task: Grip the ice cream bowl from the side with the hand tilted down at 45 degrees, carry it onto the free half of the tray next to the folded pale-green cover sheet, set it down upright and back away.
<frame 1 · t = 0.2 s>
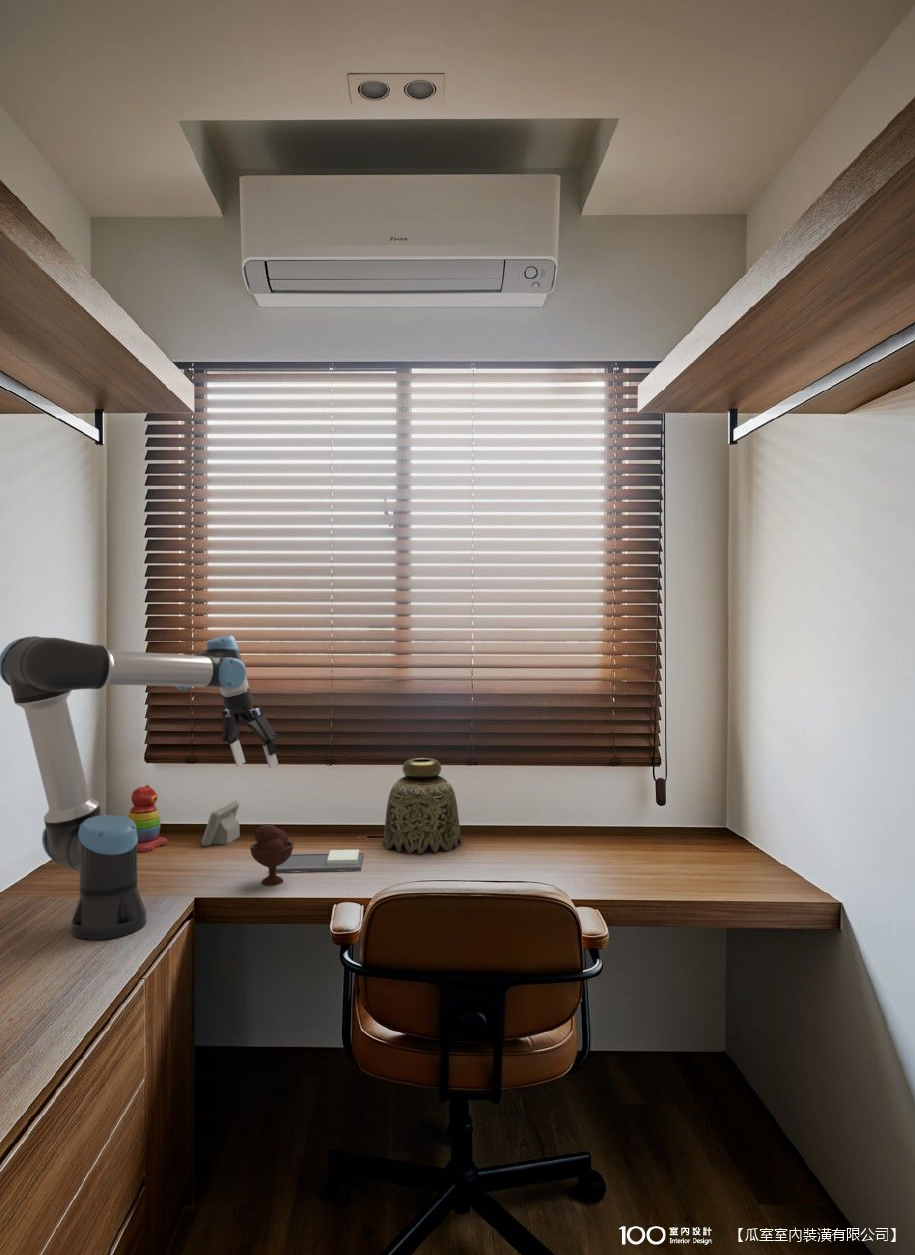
hand: (257, 765, 221), 27 cm above the table, tool tilted 15°, fingers open, 13 cm apart
lamp shade: (422, 844, 240), on the table
ice cream bowl: (272, 883, 206), on the table
tray: (317, 864, 220), on the table
digital clock: (220, 841, 244), on the table
stacking bear: (144, 847, 238), on the table
cover sheet: (343, 863, 221), resting on tray
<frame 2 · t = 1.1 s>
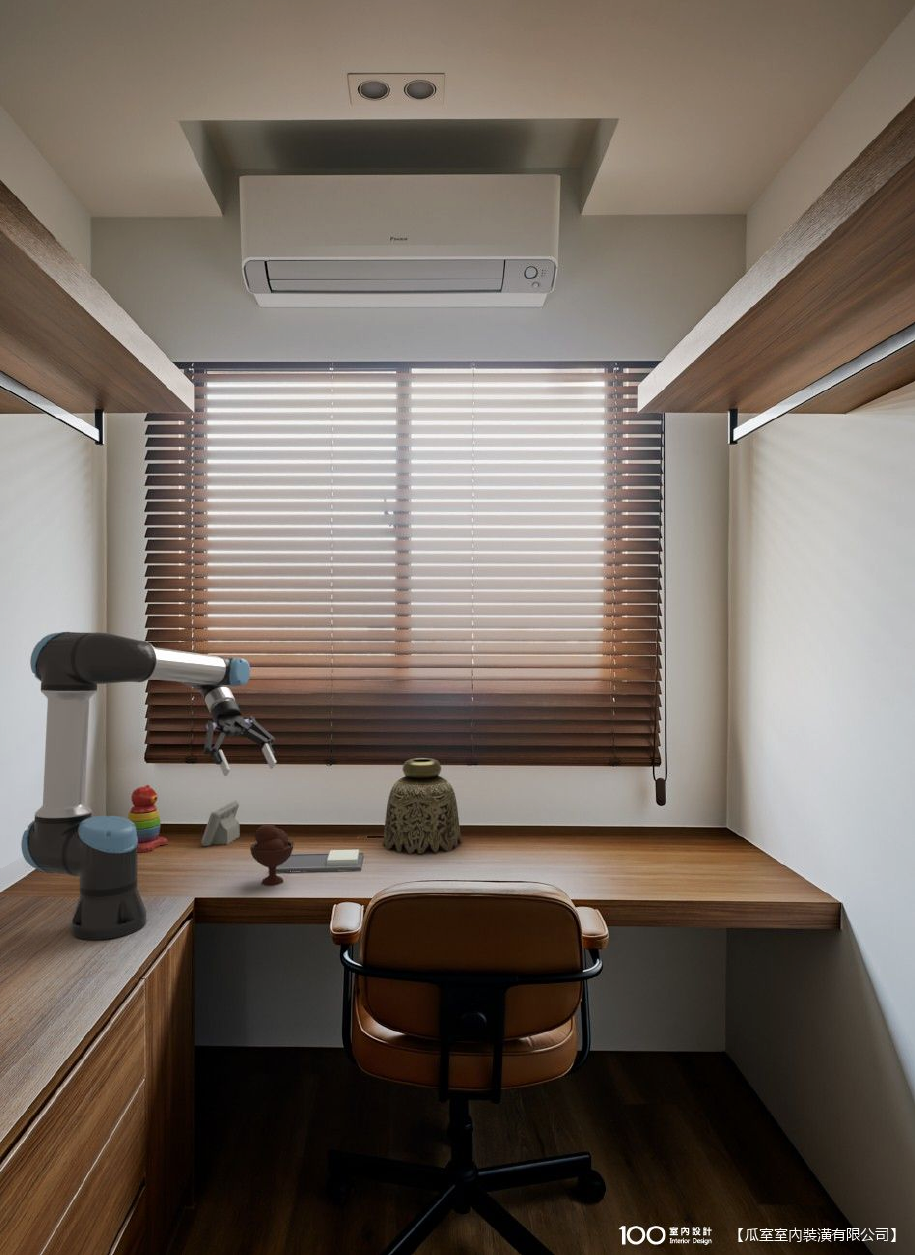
hand: (251, 769, 213), 28 cm above the table, tool tilted 45°, fingers open, 13 cm apart
nothing on the table moved.
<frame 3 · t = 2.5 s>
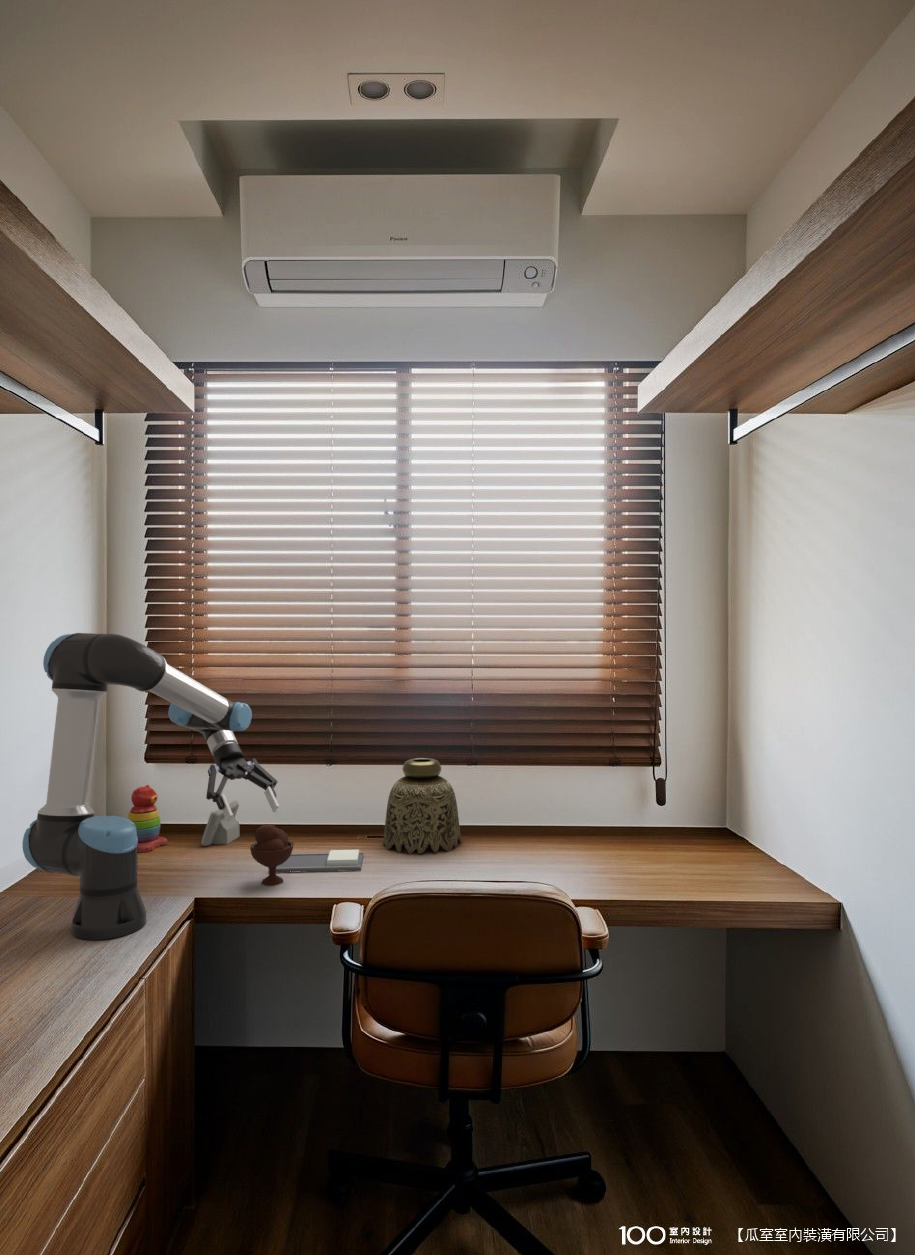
hand: (253, 813, 213), 16 cm above the table, tool tilted 45°, fingers open, 13 cm apart
nothing on the table moved.
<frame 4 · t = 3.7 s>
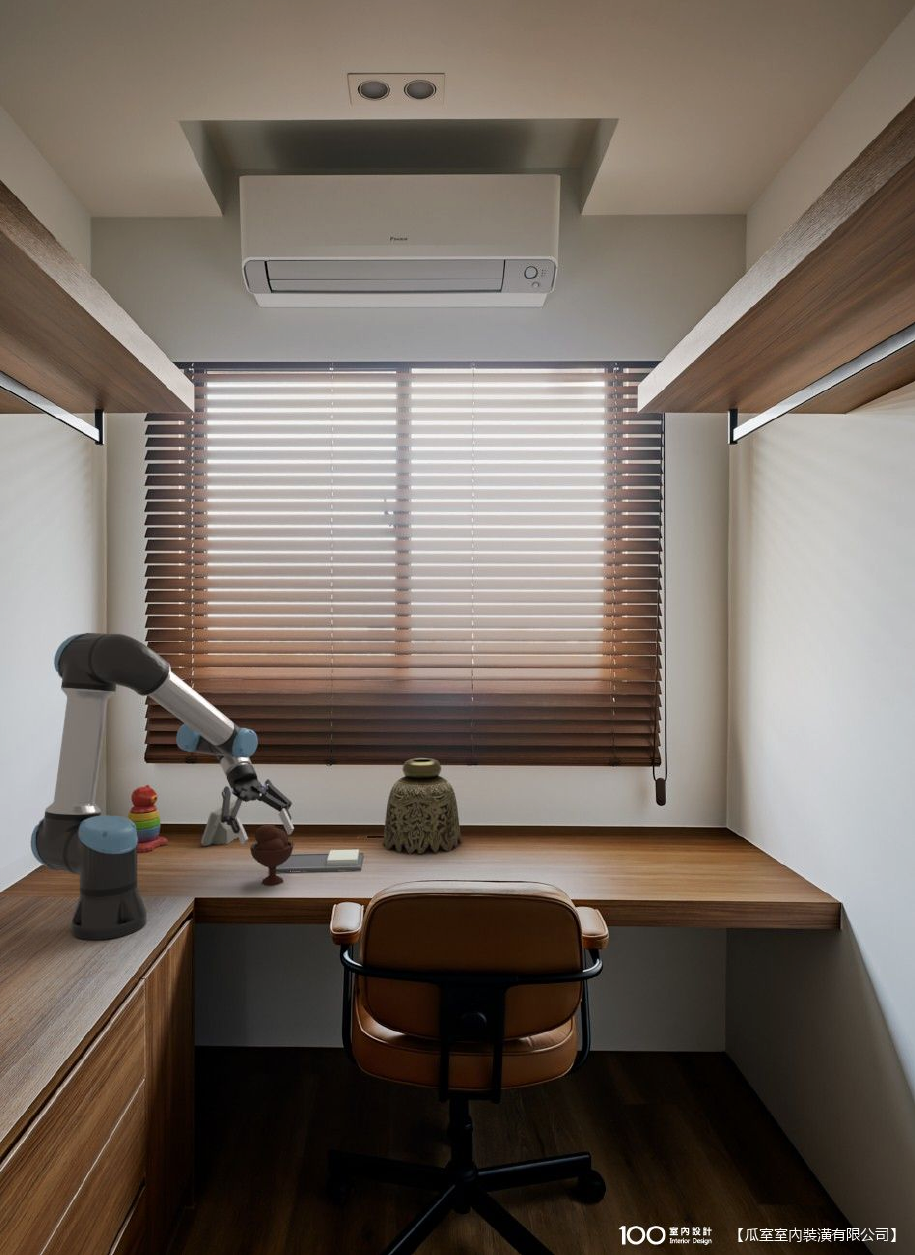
hand: (268, 837, 209), 11 cm above the table, tool tilted 45°, fingers open, 13 cm apart
nothing on the table moved.
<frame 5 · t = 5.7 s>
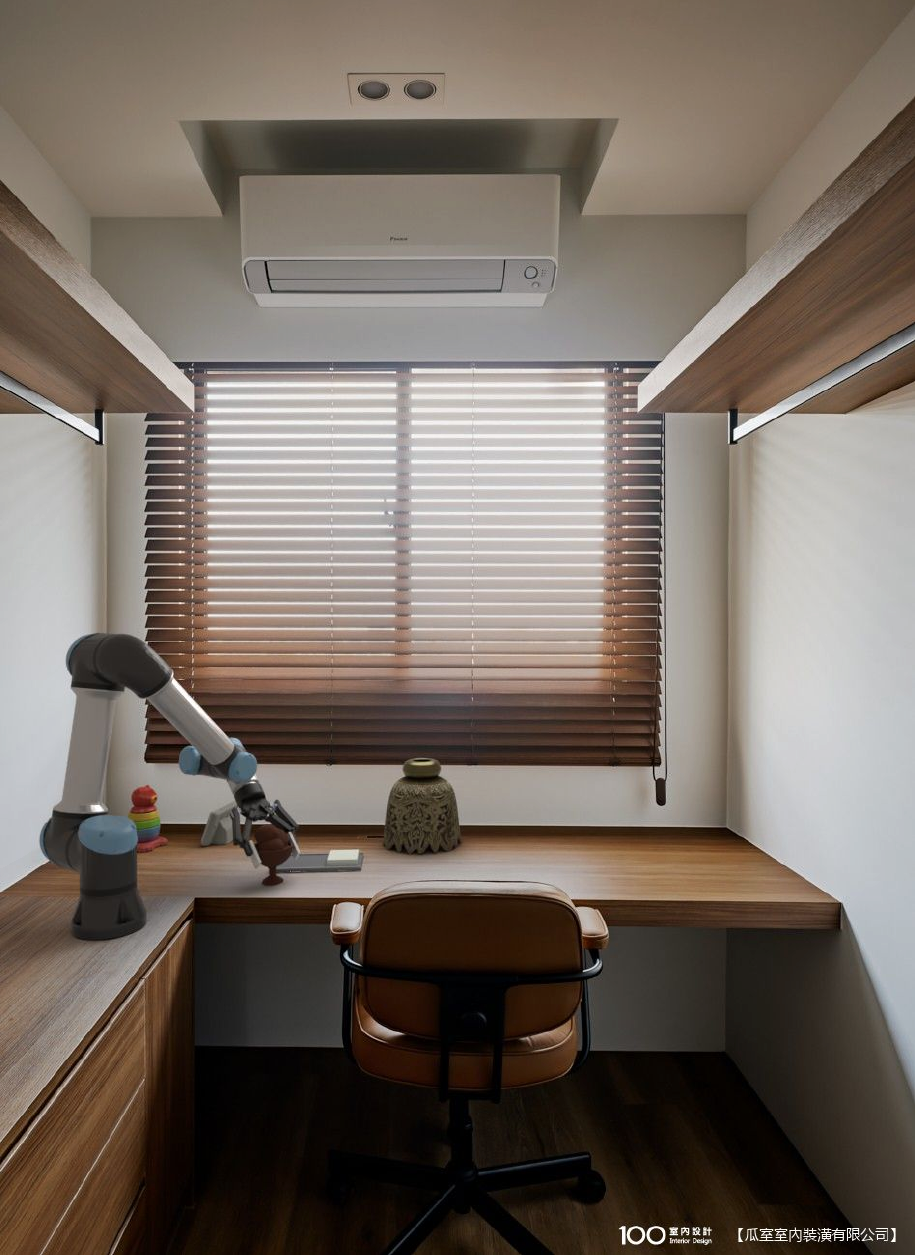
hand: (278, 860, 203), 6 cm above the table, tool tilted 45°, fingers closed on ice cream bowl, 11 cm apart
ice cream bowl: (272, 883, 206), on the table, touching gripper
everything else where it was.
when the fingers open (8 cm above the table, at t = 11.2 s): ice cream bowl drops 1 cm, resting on tray.
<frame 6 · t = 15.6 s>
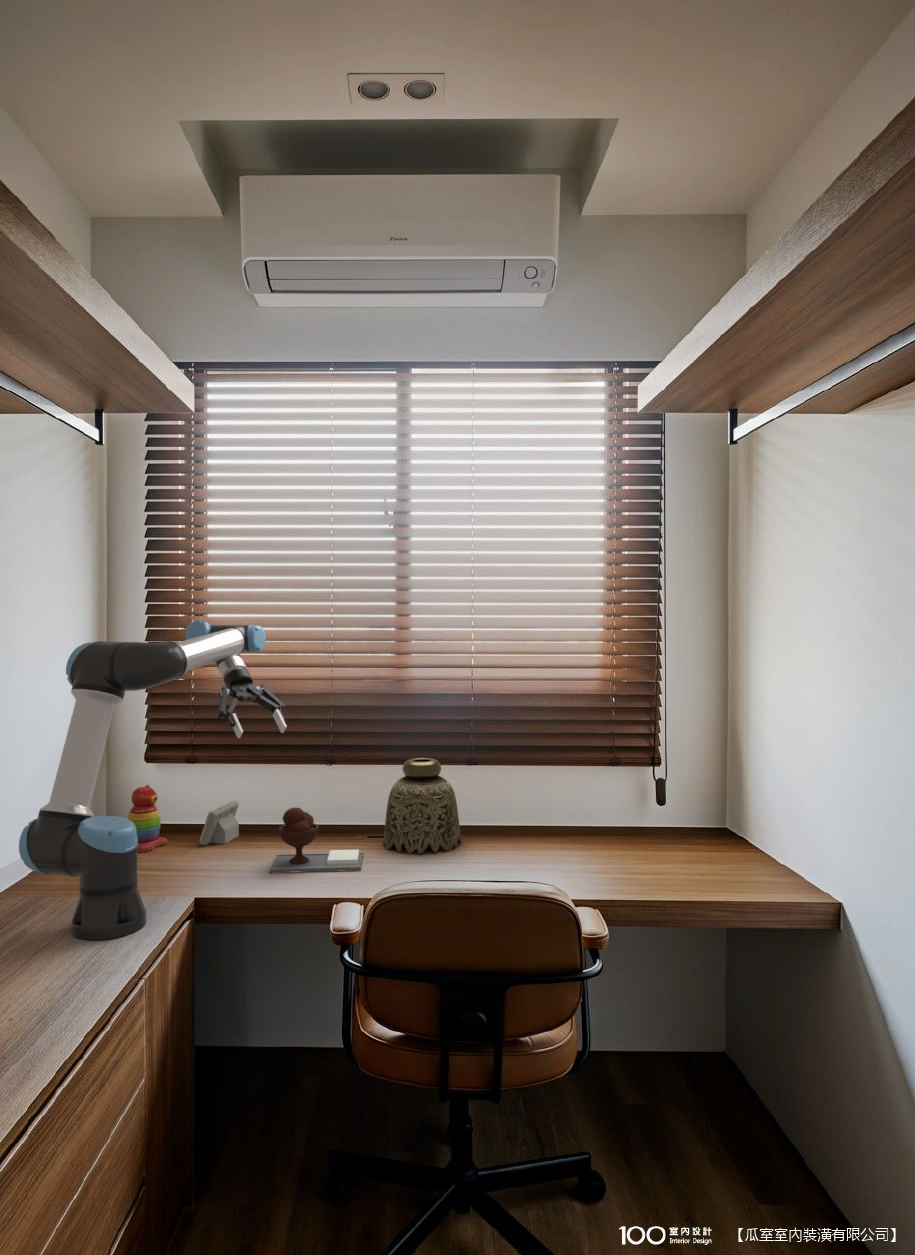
hand: (262, 732, 224), 36 cm above the table, tool tilted 45°, fingers open, 13 cm apart
ice cream bowl: (299, 862, 220), point 1 cm above the table, touching tray
at the end: ice cream bowl inside the target area on the tray (0.1 cm from its centre), point 0.6 cm above the tray's base; ice cream bowl tilted 0°; the gripper is holding nothing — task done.
